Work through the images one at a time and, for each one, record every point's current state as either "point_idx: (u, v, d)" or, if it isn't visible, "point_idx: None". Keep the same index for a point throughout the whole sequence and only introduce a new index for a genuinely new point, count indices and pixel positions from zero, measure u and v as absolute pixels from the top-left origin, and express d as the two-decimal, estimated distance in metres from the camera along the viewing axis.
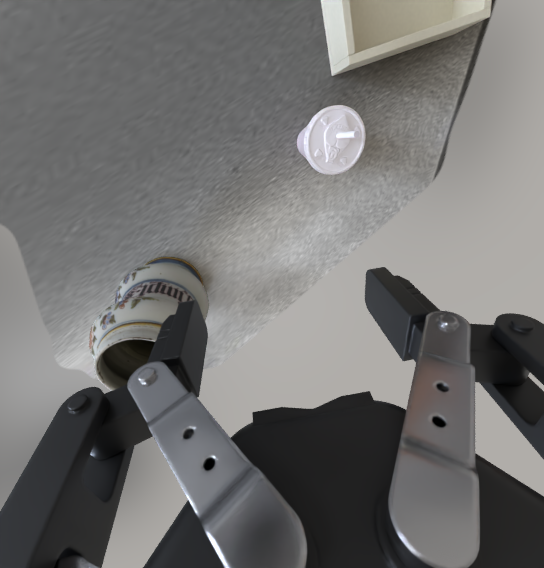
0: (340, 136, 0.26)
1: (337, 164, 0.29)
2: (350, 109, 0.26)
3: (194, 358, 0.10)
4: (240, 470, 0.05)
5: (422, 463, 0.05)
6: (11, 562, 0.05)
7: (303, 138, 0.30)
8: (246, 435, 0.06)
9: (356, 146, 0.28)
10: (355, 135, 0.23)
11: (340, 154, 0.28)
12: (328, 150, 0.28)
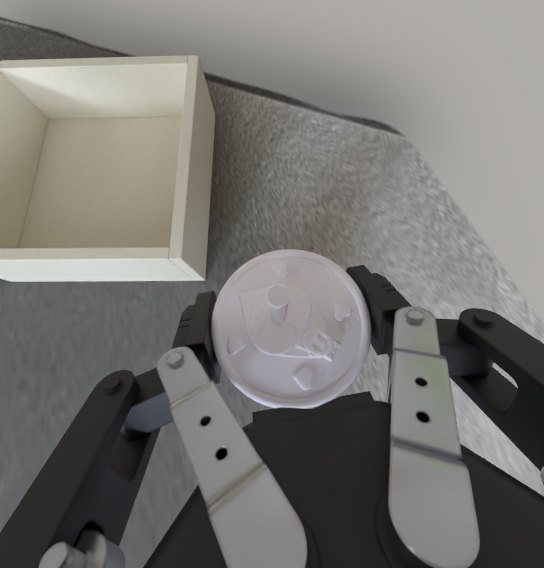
0: (279, 320, 0.09)
1: (346, 331, 0.10)
2: (233, 278, 0.11)
3: None
4: (250, 465, 0.05)
5: (422, 463, 0.05)
6: (40, 527, 0.05)
7: None
8: None
9: (316, 273, 0.11)
10: (281, 299, 0.06)
11: (322, 319, 0.11)
12: (305, 350, 0.10)
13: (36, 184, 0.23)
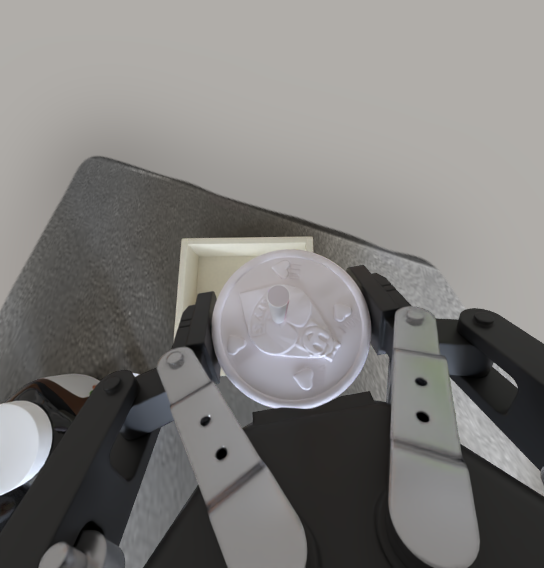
0: (279, 320, 0.09)
1: (347, 331, 0.10)
2: (233, 278, 0.11)
3: None
4: (250, 465, 0.05)
5: (422, 463, 0.05)
6: (40, 527, 0.05)
7: None
8: (246, 435, 0.06)
9: (316, 273, 0.11)
10: (281, 299, 0.06)
11: (322, 319, 0.10)
12: (305, 350, 0.10)
13: None
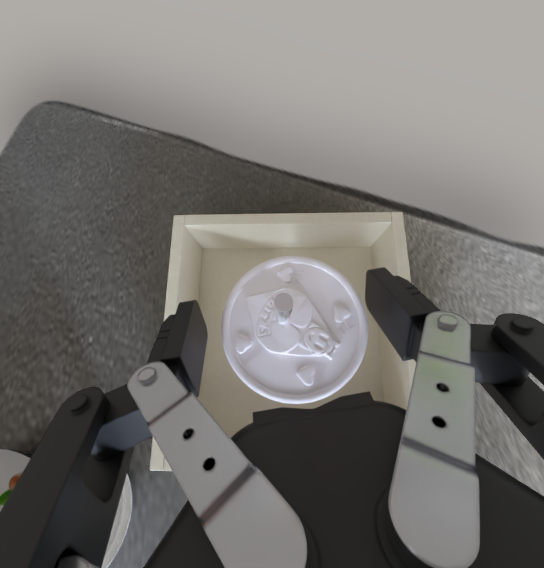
0: (283, 322, 0.10)
1: (345, 331, 0.11)
2: (241, 282, 0.12)
3: (194, 358, 0.10)
4: (240, 470, 0.05)
5: (422, 463, 0.05)
6: (11, 562, 0.05)
7: None
8: (246, 435, 0.06)
9: (317, 278, 0.12)
10: (285, 304, 0.07)
11: (323, 320, 0.11)
12: (307, 349, 0.11)
13: None
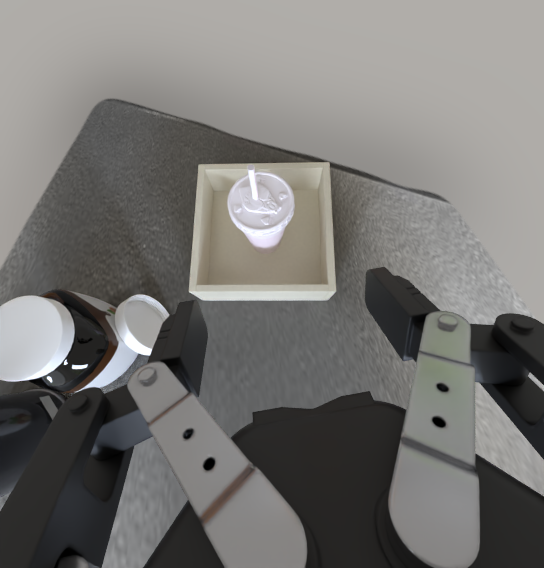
0: (254, 192, 0.24)
1: (284, 203, 0.25)
2: (236, 183, 0.26)
3: (194, 358, 0.10)
4: (240, 471, 0.05)
5: (422, 463, 0.05)
6: (11, 562, 0.05)
7: (252, 238, 0.28)
8: (246, 435, 0.06)
9: (272, 181, 0.26)
10: (251, 169, 0.21)
11: (274, 198, 0.25)
12: (266, 209, 0.25)
13: (212, 236, 0.35)
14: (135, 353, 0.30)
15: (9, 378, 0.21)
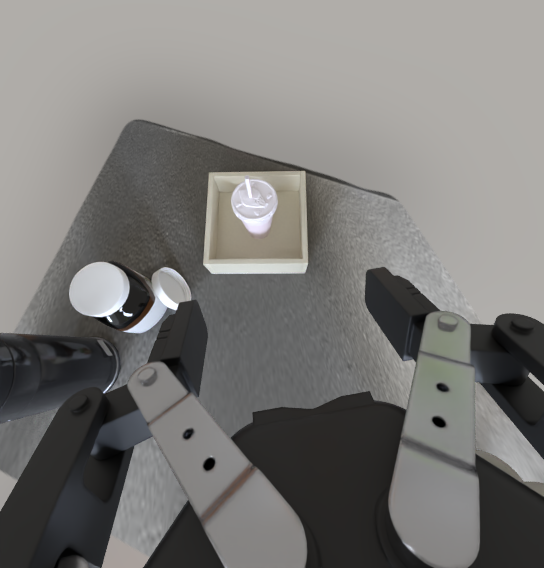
0: (249, 193, 0.35)
1: (270, 200, 0.36)
2: (237, 186, 0.37)
3: (194, 358, 0.10)
4: (240, 470, 0.05)
5: (422, 463, 0.05)
6: (11, 562, 0.05)
7: (248, 226, 0.39)
8: (246, 435, 0.06)
9: (262, 185, 0.37)
10: (247, 178, 0.32)
11: (263, 197, 0.37)
12: (257, 205, 0.36)
13: (219, 226, 0.46)
14: (164, 309, 0.41)
15: (91, 313, 0.32)
